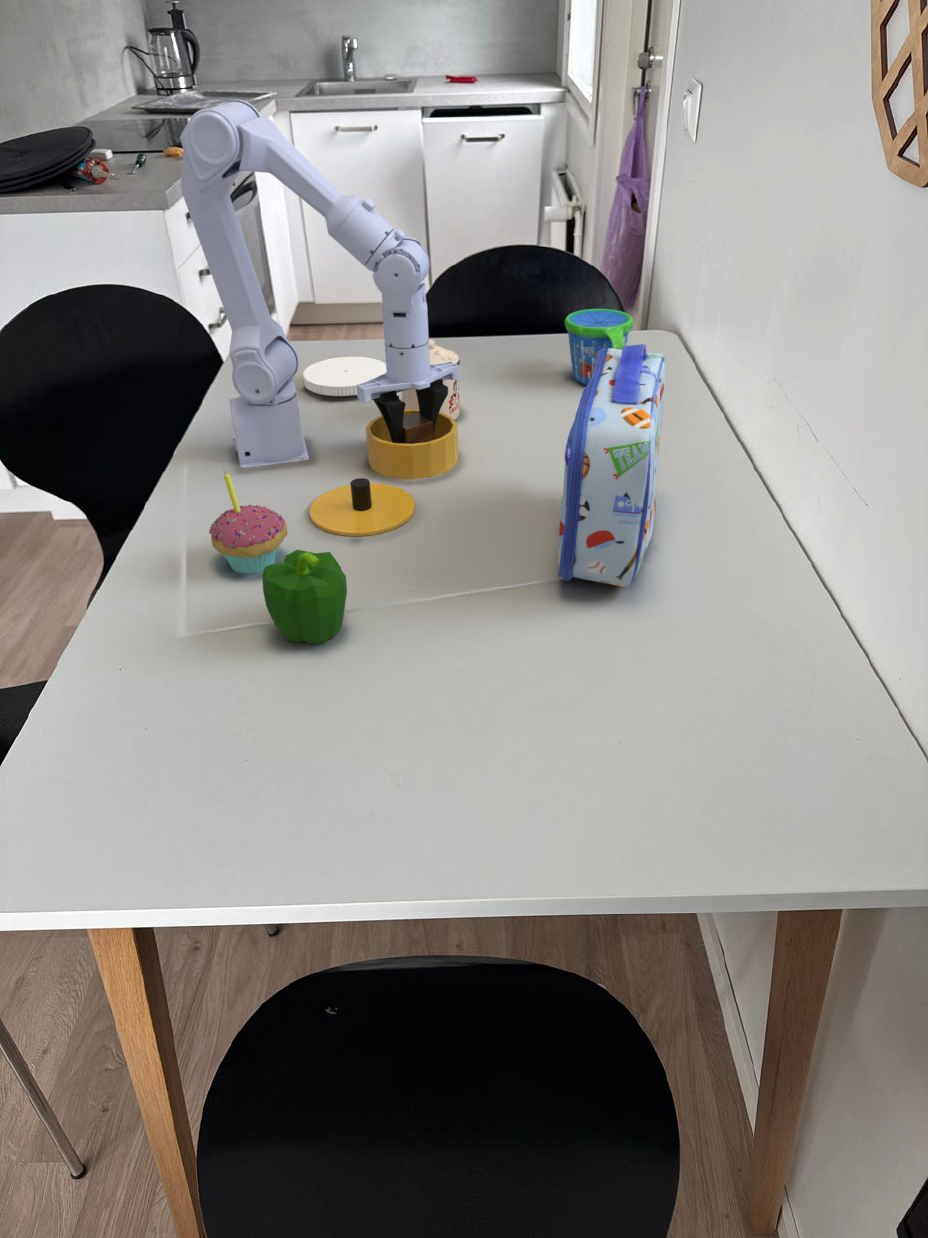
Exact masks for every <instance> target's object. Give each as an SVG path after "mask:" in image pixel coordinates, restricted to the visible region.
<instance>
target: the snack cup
mask: <svg viewBox="0 0 928 1238" xmlns="http://www.w3.org/2000/svg"><path fill="white" fill-rule="evenodd" d="M564 326H565V329H566V331H567V334H568V344H569V345H568V346H569V355H570V363H571V371H572V378H573V379H574V381H576V382H578V383H581V384H582V385H584V386H587V384H588V383H589V377H588V372H590V374H591V376H592V374H593V371H594V363H595V360H596V354H597V353H598V351H599V350H601V349H608V348H614V349H618V350H623V346H627V344H628V337H629V333H630V332H631V330H632V328H633V326H634V319H633V317H632V316H631V315H630V314H629V313H627V312H624V311H621V310H617V309H611V308H610V309H609V308H590V309H589V308H587V309H580V310H577V311H574V312H571V313H569V314H568V315H567V316H566V317H565V319H564Z"/></svg>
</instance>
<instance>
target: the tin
mask: <svg viewBox="0 0 928 1238" xmlns="http://www.w3.org/2000/svg"><path fill="white" fill-rule="evenodd" d="M416 412H417V413H419V414H420V412H419V409H409V410H404V416H405V415H409V414H412V413H416ZM365 436H366V447H367V459H368V464H369V466H370V469H371V470H372V471H374V472H376V473H377V474H379V475H380V476H384V477H389V478H392V479H398V480H419V479H428V478H432V477H436V476H439V475H442V474H445V473H447V472H448V471H450V470H451V469H453V468H454V467H455V466H456V465H457V463H458V460H459V439H458V437H459V435H458V424H457V422H456V420H454V419H453V418H452V417H450V416H448V415H446V414H444V413H441V412H439V414H438V418H437V421H436V425H435V430H434V435H433V437H434V440H432V441H429V442H423V443H415V444H402V443H392V440H391V437H390V433H389V430H388V428H387V425H386V422H385V420H384V418H383V416H382V414H380V415H378V416H377V417H375V418H373V419H371V420H370V421H369V422H368V424H367V426H366V427H365Z"/></svg>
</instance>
